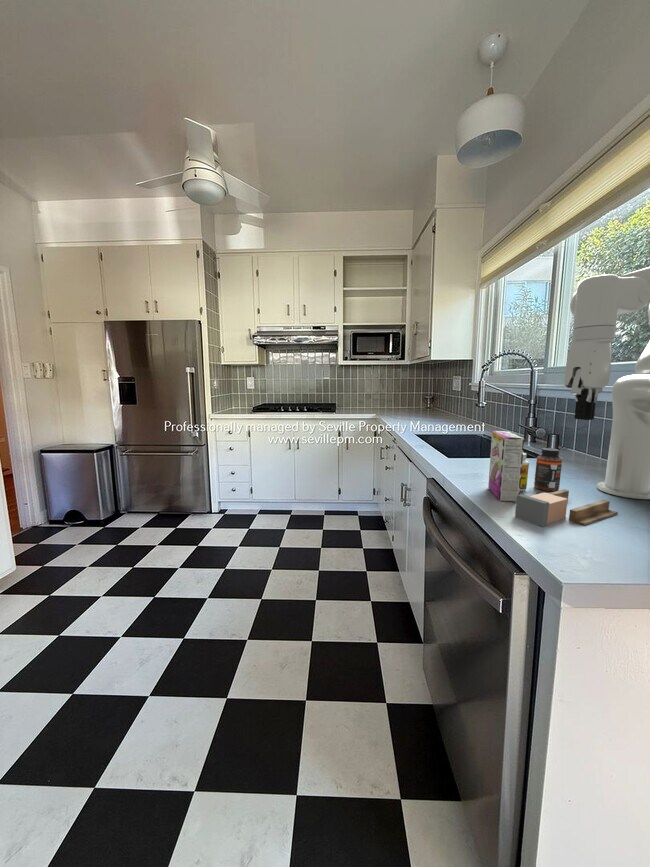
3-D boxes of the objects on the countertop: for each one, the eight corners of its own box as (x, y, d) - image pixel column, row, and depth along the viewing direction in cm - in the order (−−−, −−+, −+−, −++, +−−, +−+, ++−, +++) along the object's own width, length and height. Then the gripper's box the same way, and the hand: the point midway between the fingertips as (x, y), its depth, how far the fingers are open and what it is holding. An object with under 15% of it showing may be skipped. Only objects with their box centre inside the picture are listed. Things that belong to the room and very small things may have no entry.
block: (542, 511, 81) (544, 492, 81) (565, 518, 77) (567, 498, 76) (521, 517, 78) (522, 497, 77) (544, 525, 73) (546, 504, 72)
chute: (555, 496, 91) (556, 487, 90) (617, 514, 79) (618, 503, 79) (522, 505, 84) (523, 495, 84) (584, 525, 72) (585, 514, 72)
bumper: (519, 515, 78) (521, 494, 77) (546, 525, 73) (549, 502, 72) (514, 516, 77) (516, 495, 76) (542, 526, 72) (544, 503, 71)
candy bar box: (486, 488, 98) (491, 430, 95) (505, 489, 97) (510, 431, 94) (498, 501, 87) (503, 436, 84) (519, 503, 86) (525, 437, 84)
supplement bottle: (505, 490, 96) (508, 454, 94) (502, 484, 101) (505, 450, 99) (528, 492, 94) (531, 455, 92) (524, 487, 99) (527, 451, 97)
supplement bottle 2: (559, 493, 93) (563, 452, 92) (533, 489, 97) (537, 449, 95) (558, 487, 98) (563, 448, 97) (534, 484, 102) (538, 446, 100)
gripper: (591, 339, 83) (583, 415, 86) (555, 336, 76) (547, 419, 79) (630, 336, 77) (620, 418, 80) (594, 332, 70) (584, 423, 73)
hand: (584, 419), depth 79 cm, fingers closed
